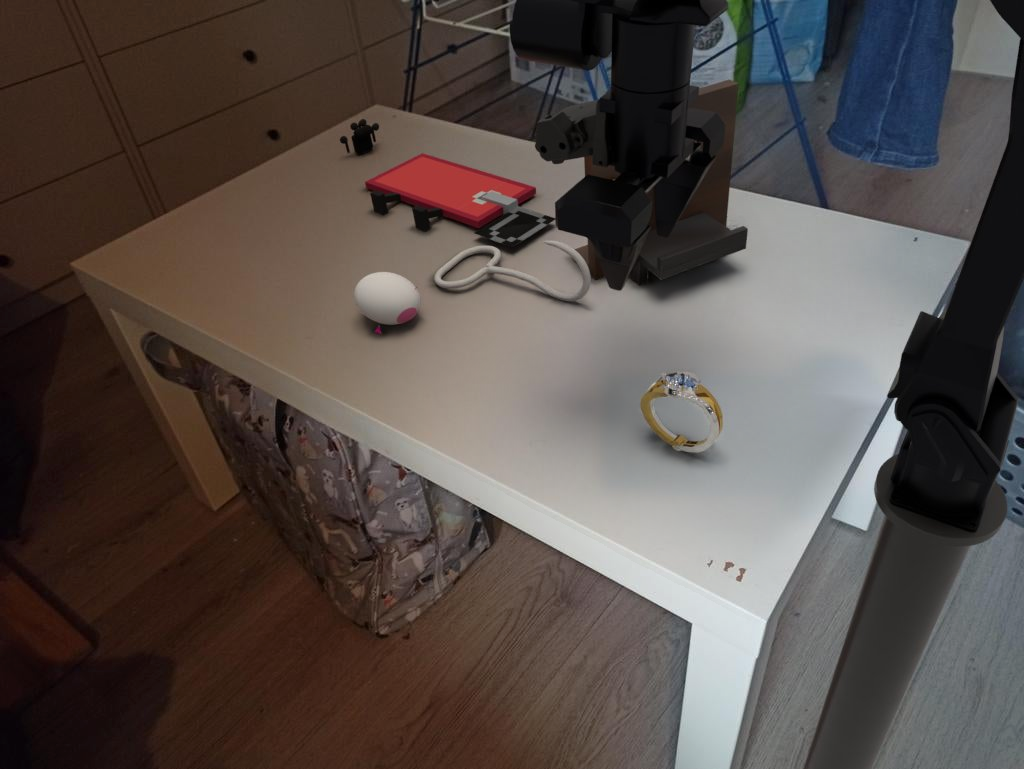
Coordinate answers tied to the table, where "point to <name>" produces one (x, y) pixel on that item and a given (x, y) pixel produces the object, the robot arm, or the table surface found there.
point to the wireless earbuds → (361, 137)
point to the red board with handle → (459, 198)
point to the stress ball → (387, 298)
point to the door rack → (688, 207)
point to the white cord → (514, 273)
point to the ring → (682, 389)
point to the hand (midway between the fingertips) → (640, 261)
